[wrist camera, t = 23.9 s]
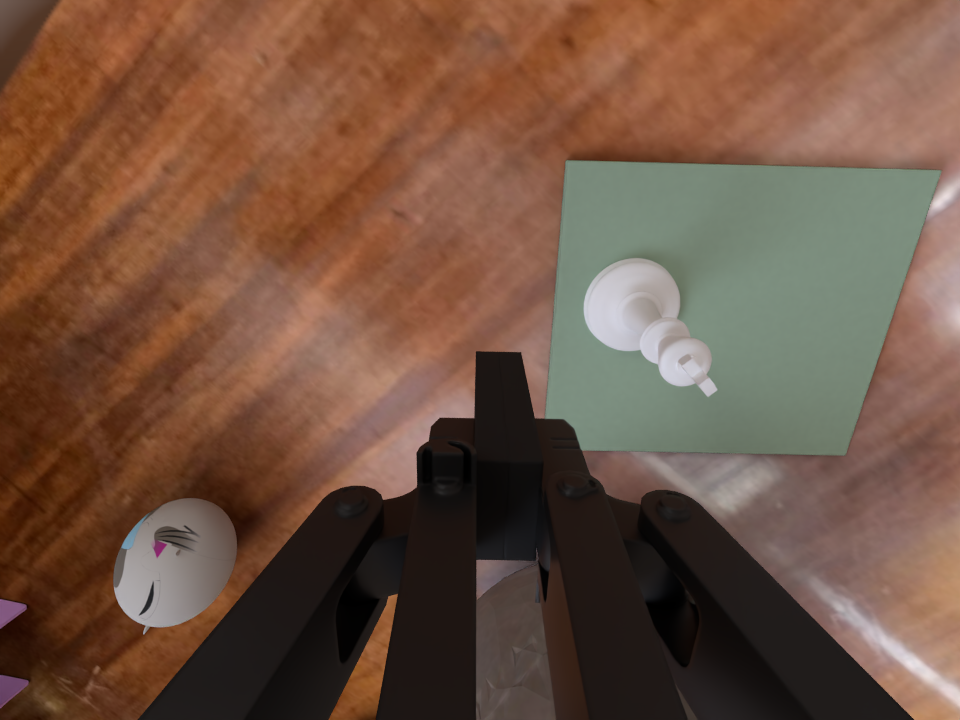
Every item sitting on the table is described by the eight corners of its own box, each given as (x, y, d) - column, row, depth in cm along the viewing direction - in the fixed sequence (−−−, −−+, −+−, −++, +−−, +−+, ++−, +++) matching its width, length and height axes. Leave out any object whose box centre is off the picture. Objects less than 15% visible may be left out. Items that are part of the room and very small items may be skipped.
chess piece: (620, 365, 29) (687, 469, 20) (564, 301, 27) (608, 380, 18) (695, 307, 28) (805, 389, 18) (641, 237, 26) (729, 288, 17)
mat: (565, 160, 25) (567, 160, 25) (932, 169, 26) (942, 170, 25) (542, 444, 31) (543, 450, 31) (839, 450, 32) (845, 455, 31)
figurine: (180, 452, 32) (107, 527, 25) (274, 491, 33) (226, 572, 26) (145, 545, 34) (72, 633, 28) (234, 578, 35) (182, 669, 29)
